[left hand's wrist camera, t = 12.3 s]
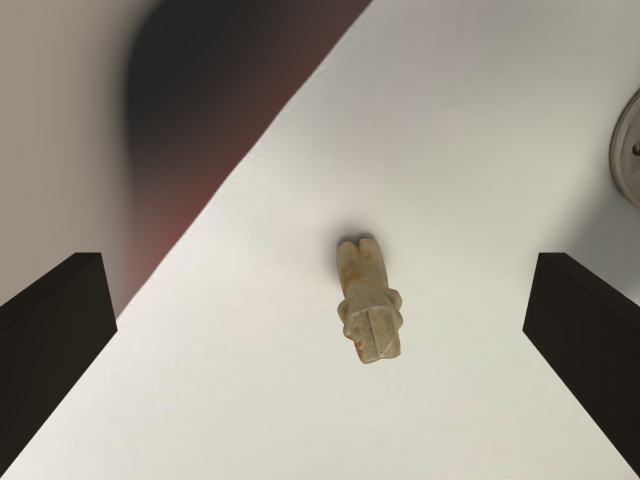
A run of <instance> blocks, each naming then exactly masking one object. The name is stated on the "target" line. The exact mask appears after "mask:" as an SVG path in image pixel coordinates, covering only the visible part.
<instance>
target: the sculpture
mask: <svg viewBox="0 0 640 480" xmlns="http://www.w3.org/2000/svg"><path fill="white" fill-rule="evenodd" d="M337 263H338V270H339V277H340V282H341V286H342V291H343V294H344V297H345V299H344V300H343V301H342V302H341V303H340V304H339V306H338V309H337V311H338V314H339V317H340V319H341V320H342V322H343V324H344V327H343V333H344V336H345V337H347V338H349V339H351V340H353V341H354V343H355V347H356V351H357V353H358V356H359V358H360V360H361V361H362V362H363V363H364V364H369V363H372V362H375V361H377V360H379V359H383V358H386V359H389V358H395V357H397V356H399V355H400V353H401V352H400V340H399V335H398V330H399V328H400V327H401V326H402V324H403V319H402V316H401V314H400V312H399V310H400V308H401V305H402V299H401V297H400V295H399V293H398V291H397V290H393V289H390V288H388V279H387V273H386V269H385V265H384V261H383V257H382V254H381V251H380V248H379V245H378V243H377V241H375V240H374V239H360V241H359V244H358V246H356V245H354V244H353V243H351V242H349V241H347V242H344V243H342V244H341V245H339V247H338V249H337Z"/></svg>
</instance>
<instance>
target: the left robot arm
mask: <svg viewBox="0 0 640 480" xmlns="http://www.w3.org/2000/svg"><path fill="white" fill-rule="evenodd" d="M610 164H611V171H612V175H613V178H614V181H615V183H616V185H617V187H618V189H619V190H620V192H621V193H622V194H623V195H624V196H625V197H626V198H627V199H628V200H629V201H630V202H632V203H633V204H635V205H637V206H638V207H640V91H639V92H638V94H637V95H636V96H635V97H634V98H633V99H632V101H631V102H630V104H629V105H628V106H627V108H626V110H625V111H624V113H623V115H622V116H621V118H620V120H619V122H618V125H617V127H616V130H615V133H614V136H613V140H612V144H611V152H610ZM117 331H118V330H117V325H116V321H115V316H114V311H113V307H112V302H111V297H110V293H109V288H108V283H107V278H106V274H105V269H104V265H103V260H102V255H101V253H74V254H73V255H71V256H70V257H69V258H67V259H66V260H64V261H63V262H62V263H60V264H59V265H57V266H56V267H55V268H53V269H52V270H51V271H49V272H48V273H46V274H45V275H44V276H42V277H41V278H40V279H38V280H37V281H35V282H34V283H33V284H31V285H30V286H28V287H27V288H26V289H24V290H23V291H21V292H20V293H19V294H17V295H16V296H15V297H13V298H12V299H10V300H9V301H8V302H6V303H5V304H3V305H2V306H1V307H0V478H1V477H2V475H3V474H4V473H5V472H6V470H7V469H8V468H9V467H10V465H11V464H12V463H13V462H14V460H15V459H16V458H17V457H18V455H19V454H20V453H21V451H22V450H23V449H24V448H25V446H26V445H27V444H28V443H29V441H30V440H31V439H32V438H33V436H34V435H35V434H36V433H37V431H38V430H39V429H40V428H41V426H42V425H43V424H44V423H45V421H46V420H47V419H48V418H49V416H50V415H51V414H52V413H53V411H54V410H55V409H56V407H57V406H58V405H59V404H60V402H61V401H62V400H63V399H64V397H65V396H66V395H67V394H68V392H69V391H70V390H71V389H72V387H73V386H74V385H75V384H76V382H77V381H78V380H79V379H80V377H81V376H82V375H83V374H84V372H85V371H86V370H87V368H88V367H89V366H90V365H91V363H92V362H93V361H94V360H95V358H96V357H97V356H98V355H99V353H100V352H101V351H102V350H103V348H104V347H105V346H106V345H107V343H108V342H109V341H110V340H111V338H112V337H113V336H114V335H115V333H116V332H117ZM522 331H523V332H524V333H525V335H526V336H527V337H528V338H529V340H530V341H531V342H532V343H533V345H534V346H535V347H536V348H537V350H538V351H539V352H540V353H541V355H542V356H543V357H544V358H545V360H546V361H547V362H548V363H549V365H550V366H551V367H552V368H553V370H554V371H555V372H556V374H557V375H558V376H559V377H560V379H561V380H562V381H563V382H564V384H565V385H566V386H567V387H568V389H569V390H570V391H571V392H572V394H573V395H574V396H575V397H576V399H577V400H578V401H579V402H580V404H581V405H582V406H583V407H584V409H585V410H586V411H587V413H588V414H589V415H590V416H591V418H592V419H593V420H594V421H595V423H596V424H597V425H598V426H599V428H600V429H601V430H602V431H603V433H604V434H605V435H606V436H607V438H608V439H609V440H610V441H611V443H612V444H613V445H614V446H615V448H616V449H617V450H618V451H619V453H620V454H621V455H622V457H623V458H624V459H625V460H626V462H627V463H628V464H629V465H630V467H631V468H632V469H633V470H634V472H635V473H636V474H637V475H638V477H639V478H640V307H639V306H638V305H637V304H635V303H634V302H632V301H631V300H630V299H628V298H627V297H626V296H624V295H623V294H621V293H620V292H619V291H617V290H616V289H614V288H613V287H612V286H610V285H609V284H608V283H606V282H605V281H603V280H602V279H601V278H599V277H598V276H596V275H595V274H594V273H592V272H591V271H589V270H588V269H587V268H585V267H584V266H583V265H581V264H580V263H578V262H577V261H576V260H574V259H573V258H571V257H570V256H569V255H567V254H566V253H539V255H538V260H537V264H536V269H535V274H534V278H533V283H532V288H531V293H530V297H529V302H528V307H527V311H526V316H525V321H524V325H523V330H522Z"/></svg>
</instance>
